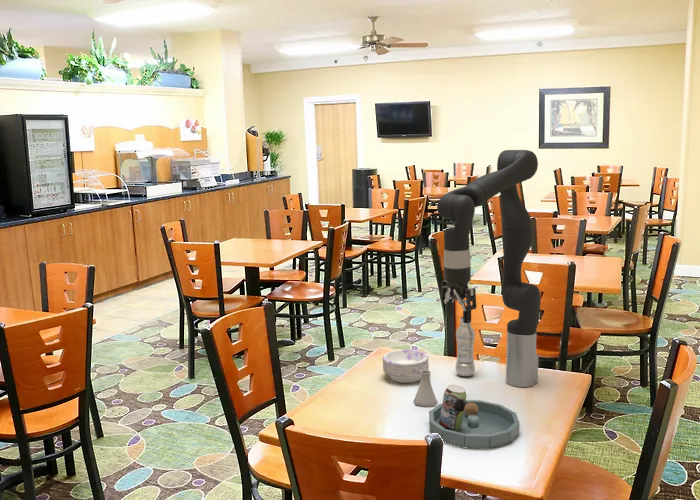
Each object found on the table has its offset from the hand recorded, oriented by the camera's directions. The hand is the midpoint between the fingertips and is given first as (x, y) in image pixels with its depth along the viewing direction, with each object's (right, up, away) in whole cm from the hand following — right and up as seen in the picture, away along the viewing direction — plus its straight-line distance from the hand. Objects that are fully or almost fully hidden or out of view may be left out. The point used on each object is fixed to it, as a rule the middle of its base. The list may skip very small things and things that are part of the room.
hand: (458, 319), depth 195 cm
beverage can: (-3, -29, -10) cm, 31 cm away
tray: (+3, -29, -8) cm, 31 cm away
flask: (-8, -27, +11) cm, 30 cm away
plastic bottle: (+8, -22, +33) cm, 41 cm away
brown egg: (+3, -27, -2) cm, 28 cm away
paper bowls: (-13, -23, +31) cm, 41 cm away
